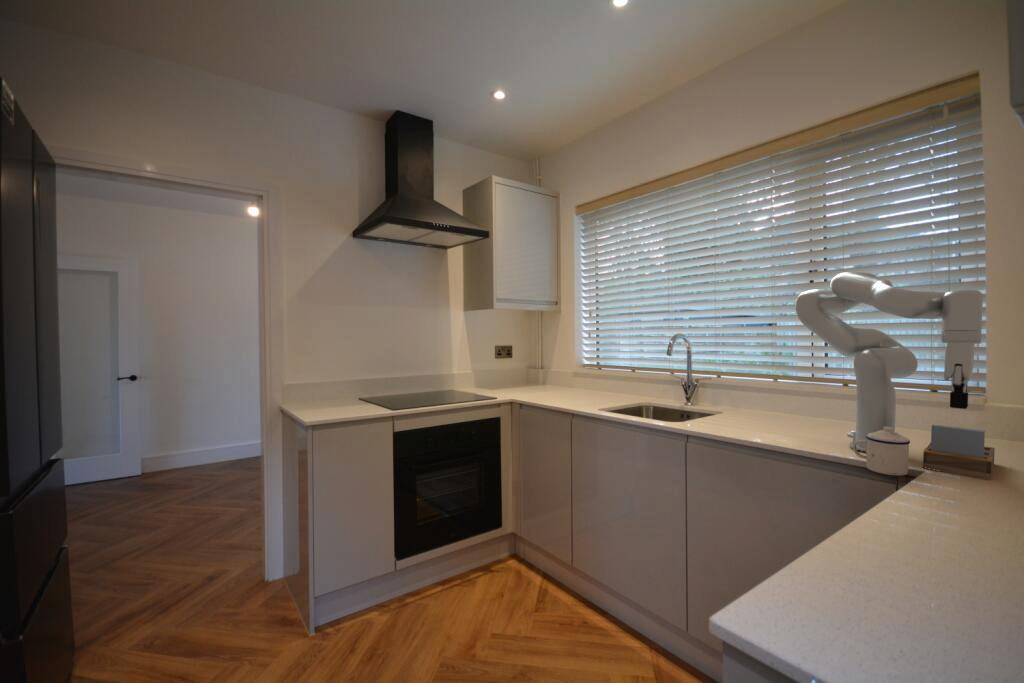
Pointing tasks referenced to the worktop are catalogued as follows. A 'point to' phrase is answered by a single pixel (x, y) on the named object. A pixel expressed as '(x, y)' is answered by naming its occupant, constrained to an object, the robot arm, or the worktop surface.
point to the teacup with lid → (886, 452)
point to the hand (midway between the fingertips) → (958, 407)
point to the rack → (960, 463)
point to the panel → (958, 441)
